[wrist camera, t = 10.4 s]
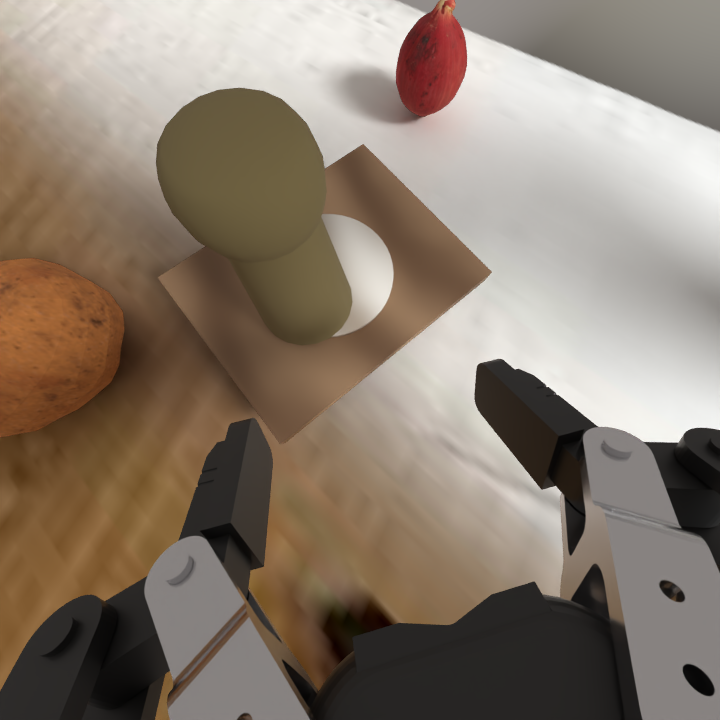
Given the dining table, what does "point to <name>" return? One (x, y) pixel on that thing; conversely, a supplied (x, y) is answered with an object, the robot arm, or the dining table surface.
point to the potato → (52, 343)
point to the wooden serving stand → (368, 286)
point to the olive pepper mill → (258, 206)
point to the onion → (432, 61)
